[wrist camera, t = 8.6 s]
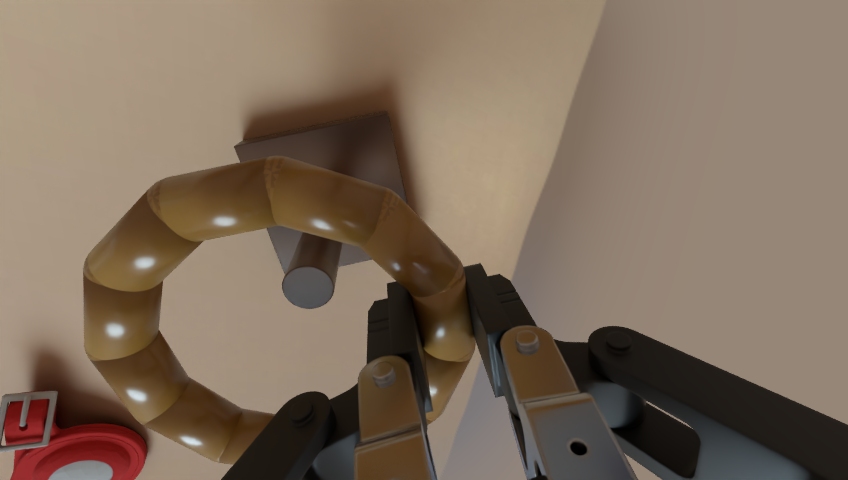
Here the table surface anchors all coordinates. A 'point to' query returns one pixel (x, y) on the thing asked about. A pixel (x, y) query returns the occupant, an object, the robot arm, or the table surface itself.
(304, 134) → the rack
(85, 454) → the tracker holder
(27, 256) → the table surface
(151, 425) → the ring
